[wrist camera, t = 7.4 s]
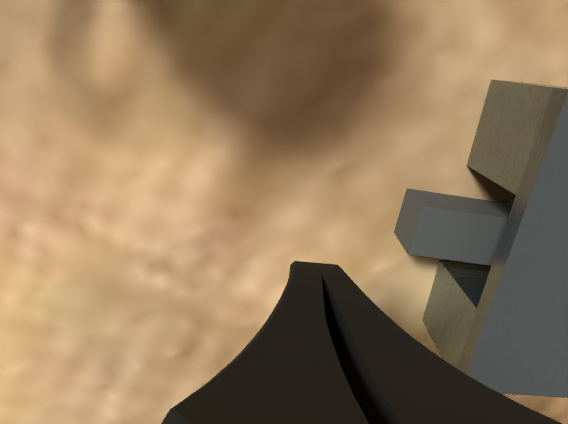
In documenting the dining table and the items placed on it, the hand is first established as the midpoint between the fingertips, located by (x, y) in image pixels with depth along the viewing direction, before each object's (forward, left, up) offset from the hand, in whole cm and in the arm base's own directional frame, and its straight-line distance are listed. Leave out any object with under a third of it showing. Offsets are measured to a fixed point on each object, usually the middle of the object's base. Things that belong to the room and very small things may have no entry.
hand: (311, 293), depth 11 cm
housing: (0, -10, -7) cm, 12 cm away
